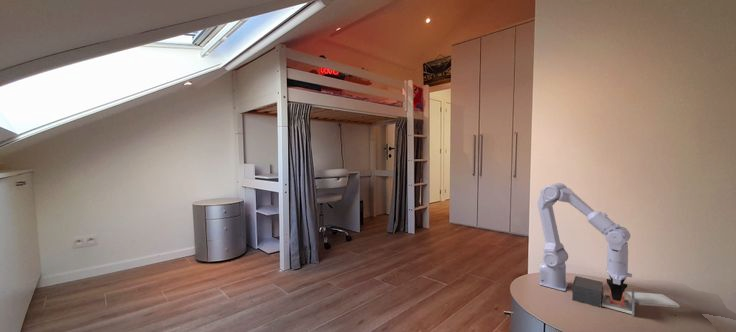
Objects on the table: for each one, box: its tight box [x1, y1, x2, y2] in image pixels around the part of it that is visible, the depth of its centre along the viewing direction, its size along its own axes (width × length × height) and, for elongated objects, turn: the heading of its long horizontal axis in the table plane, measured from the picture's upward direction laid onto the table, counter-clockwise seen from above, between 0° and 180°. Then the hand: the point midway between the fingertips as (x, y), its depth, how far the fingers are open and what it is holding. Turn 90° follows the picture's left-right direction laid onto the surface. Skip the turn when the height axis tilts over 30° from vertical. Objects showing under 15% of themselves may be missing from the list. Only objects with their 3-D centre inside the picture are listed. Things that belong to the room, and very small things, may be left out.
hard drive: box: [624, 291, 681, 308], centre depth 108 cm, size 2×8×12 cm
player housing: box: [571, 275, 604, 308], centre depth 111 cm, size 9×9×6 cm
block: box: [609, 289, 626, 307], centre depth 105 cm, size 4×4×4 cm
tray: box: [601, 288, 636, 316], centre depth 105 cm, size 9×9×6 cm
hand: (616, 295), depth 105 cm, fingers open, 7 cm apart
